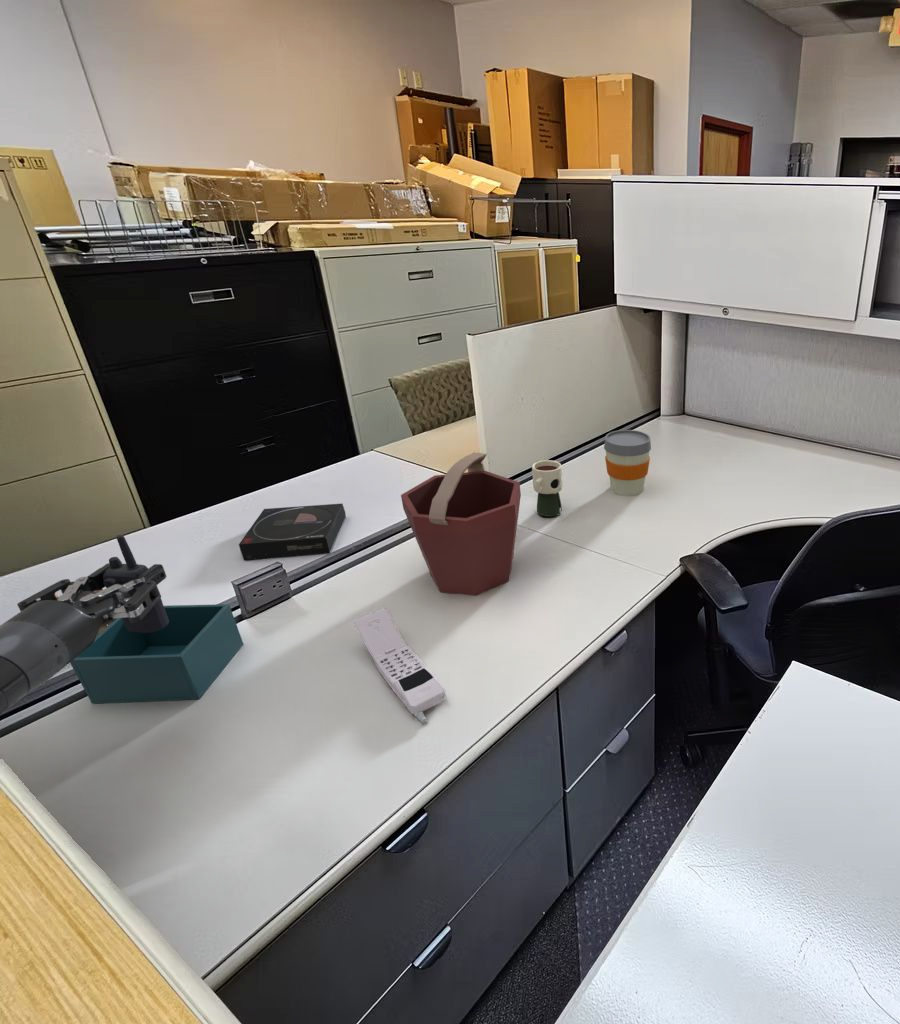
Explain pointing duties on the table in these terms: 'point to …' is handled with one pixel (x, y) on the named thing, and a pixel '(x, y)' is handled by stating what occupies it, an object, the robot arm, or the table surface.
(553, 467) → the character mug
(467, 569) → the bucket
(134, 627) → the two-way radio
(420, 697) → the mobile phone
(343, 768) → the table surface
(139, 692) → the bin
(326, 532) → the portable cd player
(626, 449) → the reusable coffee cup
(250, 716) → the table surface
